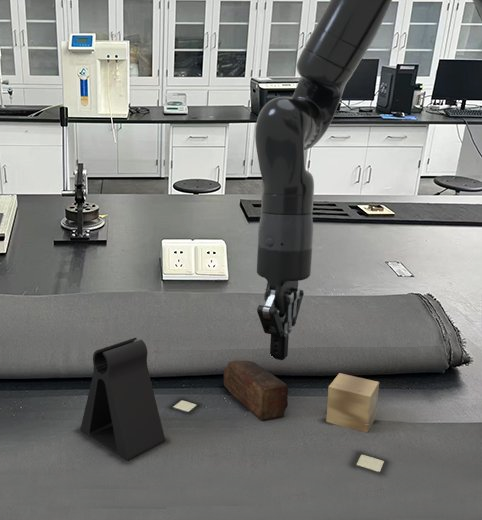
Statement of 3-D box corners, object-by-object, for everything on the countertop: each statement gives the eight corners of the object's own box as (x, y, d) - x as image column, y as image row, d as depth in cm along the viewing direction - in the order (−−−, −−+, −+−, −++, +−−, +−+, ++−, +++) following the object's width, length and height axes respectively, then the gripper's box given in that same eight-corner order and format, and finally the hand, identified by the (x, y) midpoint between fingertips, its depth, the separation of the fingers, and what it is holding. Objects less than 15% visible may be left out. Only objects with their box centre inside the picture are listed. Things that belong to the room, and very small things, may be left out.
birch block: (376, 417, 69) (379, 381, 68) (367, 434, 65) (370, 396, 64) (336, 407, 72) (339, 372, 71) (325, 422, 68) (328, 386, 67)
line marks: (384, 462, 59) (384, 461, 59) (379, 473, 57) (379, 471, 57) (181, 401, 74) (181, 400, 74) (172, 408, 72) (172, 406, 72)
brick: (287, 417, 69) (289, 384, 68) (261, 422, 68) (262, 388, 67) (246, 384, 79) (247, 355, 78) (222, 388, 78) (223, 358, 77)
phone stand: (80, 431, 66) (77, 340, 64) (117, 415, 70) (115, 329, 68) (127, 462, 60) (125, 362, 57) (165, 442, 64) (165, 348, 61)
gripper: (294, 254, 68) (287, 379, 72) (325, 239, 79) (317, 349, 83) (240, 248, 73) (236, 366, 76) (276, 235, 83) (271, 339, 87)
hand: (278, 357), depth 79 cm, fingers closed
